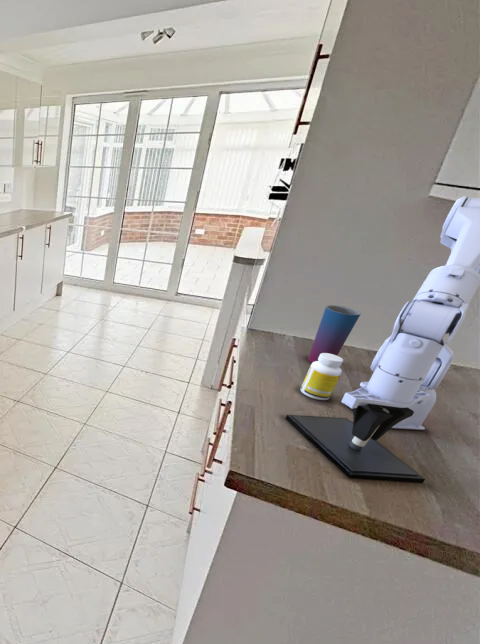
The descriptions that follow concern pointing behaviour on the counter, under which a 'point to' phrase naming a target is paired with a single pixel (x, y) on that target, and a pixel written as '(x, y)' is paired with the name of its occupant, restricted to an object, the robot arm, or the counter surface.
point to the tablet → (353, 450)
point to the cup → (333, 330)
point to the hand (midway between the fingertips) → (364, 437)
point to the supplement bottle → (322, 377)
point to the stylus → (358, 443)
